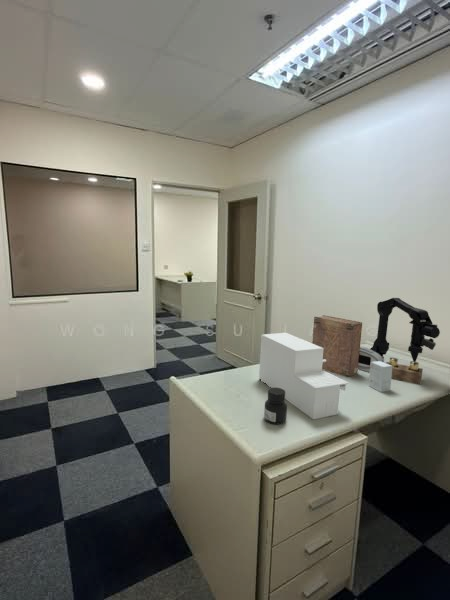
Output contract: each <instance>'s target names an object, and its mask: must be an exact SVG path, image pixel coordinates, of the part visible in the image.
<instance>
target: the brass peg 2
mask: <svg viewBox="0 0 450 600" xmlns="http://www.w3.org/2000/svg"><path fill="white" fill-rule="evenodd" d="M419 365H420V363H419V362H418V361H416V362H414V361H413V360H412V361H410V363H409V366H410V369H409V370H411V371H417V372H418V368H419Z"/></svg>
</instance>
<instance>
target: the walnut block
mask: <svg viewBox="0 0 450 600" xmlns="http://www.w3.org/2000/svg"><path fill="white" fill-rule="evenodd" d="M385 363H386V364H389V363H390V361H389V362H388V361H386V362H385ZM409 369H410V365H406V364H401V363H398V364H397V368H396V367H392V377H391V380H397V381H401V382H406V383H410V384H416V385H419V386H420V385H421V384H422V379H423V370H424V369H423V368H421V367H418V372H417V371H411V370H409Z"/></svg>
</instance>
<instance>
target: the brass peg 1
mask: <svg viewBox="0 0 450 600" xmlns="http://www.w3.org/2000/svg"><path fill="white" fill-rule="evenodd" d="M398 361H399V358H397V357H389V362H390V363H389V365H391V366H393V367H396V368H397V364H399V363H398Z"/></svg>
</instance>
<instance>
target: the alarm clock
mask: <svg viewBox="0 0 450 600" xmlns="http://www.w3.org/2000/svg"><path fill="white" fill-rule="evenodd" d="M375 361H381V362H384V363H385V358H384V359H383V358H382V357H381V356H380V355H379V354H378V353H376V352H374V351H373V350H371V349H370V348H368V347H364V346H360V352H359V362H358V370H360V371H364V372H368V373H370V367H371V362H375Z"/></svg>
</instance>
